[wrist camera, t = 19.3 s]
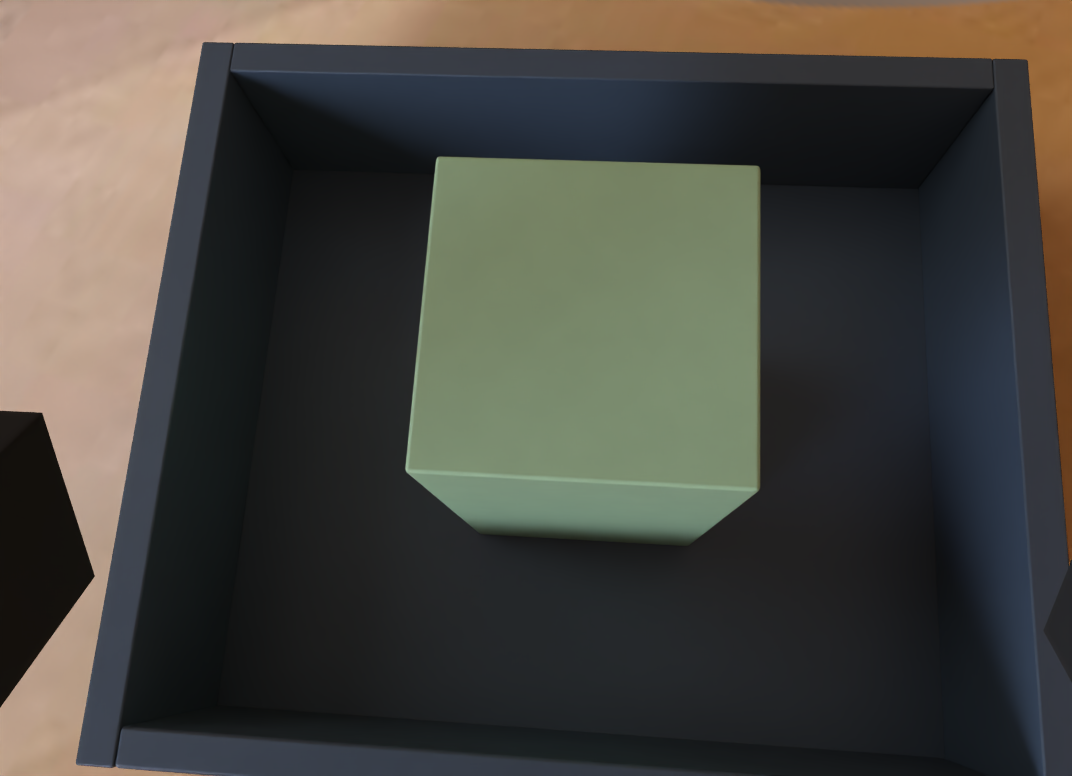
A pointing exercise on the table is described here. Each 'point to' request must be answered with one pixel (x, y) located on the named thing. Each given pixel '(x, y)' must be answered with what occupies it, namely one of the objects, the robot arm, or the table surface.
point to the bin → (584, 565)
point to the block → (590, 347)
